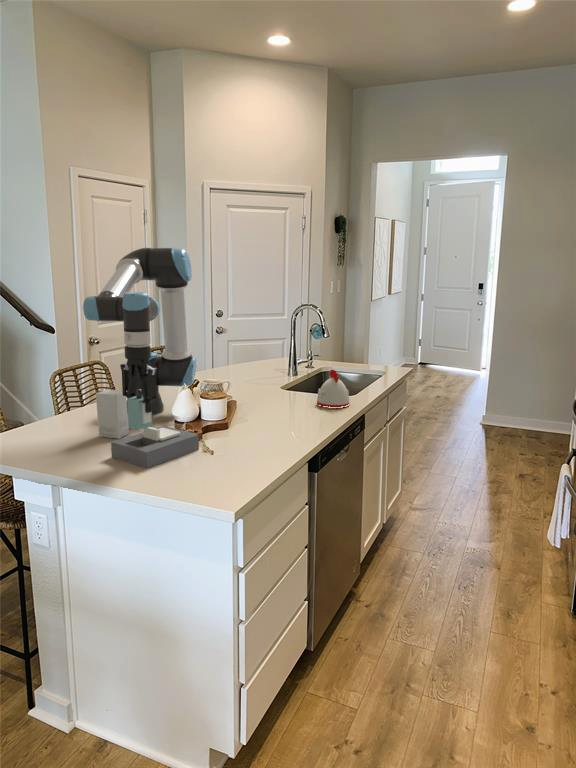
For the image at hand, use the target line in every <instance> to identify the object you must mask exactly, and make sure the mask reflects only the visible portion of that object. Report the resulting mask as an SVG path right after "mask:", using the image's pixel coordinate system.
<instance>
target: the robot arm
mask: <svg viewBox="0 0 576 768" xmlns="http://www.w3.org/2000/svg"><path fill="white" fill-rule="evenodd" d="M192 271H193V270H192V264H191V260H190V257H189V254H188V252H187V250H185V249H184V248H175V247H142V248H139V249H136V250H133V251H131V252H129V253H127V254H126V255H124V256H123V257H122V258H121V259H119V261H118V263H117V264H116V266H115V272H114V273H113V275H112V276H111V277H110V279H109V280H108V282H106V284H105V285H104V287H103V288H102V289H101V291H100V293H99V294H98V295H96V296H95V295H91V296H89V295H88V296H86V297H85V298H84V300H83V304H82V310H83V315H84V318H85V319H87V320H88V321H96V322H123V336H124V337H123V338H124V340H123V341H124V342H123V343H124V344H125V347H124V358H125V359H126V360H127V361H126V363H121V364H120V365H119V367H120V370H121V388H122V390H121V391H122V393H123V396H126V399H127V398H130V397H134V396H136V390H137V389H141V390H142V396H143V400H144V401H142V421H143V424H146V423H149V422H151V412H152V416H154V415H157V414H160V413H163V412H164V410H165V407H164V405H165V404H164V402H163V401H162V397H161V393H160V390H159V389H160V388H159V387H160V386H161V387H162V386H163V387H181V388H182V387H184V386H183V385H184V383H185V384H186V385H187V386H186V387H190V386H192V384H194V381H195V376H196V370H197V358H196V357H195V356H192V355H193V354H192V351H191V350H190V349H189V348H188V336H187V335H188V334H187V322H186V320H187V319H186V318H187V317H186V302H185V289H186V288H187V287H188V282H190V281H191V280H192V277H193V276H192V275H193V274H192ZM141 281H155V286H156V288H157V289H159V290H160V299H161V300H160V302H161V303H160V304H161V307H160V304H159V302H158V301H157V300H156V299H155V297H152V296H149V294H148V293H147V292H143V291H142V292H139V291H138V292H136V291H135V292H133V291H131V290H132V289H133V288H134V286H135V285H137V284H138V283H140V282H141ZM160 308H161V313H162V324H163V325H162V326H163V327H162V328H163V339H164V340H163V341H164V349H163V351H162V352H161V356H159V354H158V352H156V351H155V352H154V351H152V348H151V347H152V346H150V345H151V342H152V341H151V326H150V325H151V324H150V323H151V322H152V321H153V320H155V319H156V318H157V317H158V315H159V314H160ZM147 397H148V398H147ZM127 413H128V403H127Z"/></svg>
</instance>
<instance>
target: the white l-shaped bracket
mask: <svg viewBox="0 0 576 768" xmlns="http://www.w3.org/2000/svg"><path fill="white" fill-rule="evenodd" d="M156 428H157V427H153V426H151V427H148V428H144V429H142V430H143V432H144V433H143V436H144V437H145V438H148V439H152V440H156V441H158V440H160V441H163V440H166V439H169V438H172V437H175V436H178V435H181V432H178V431H174V430H170V429H166V428H159V429H156Z"/></svg>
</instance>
